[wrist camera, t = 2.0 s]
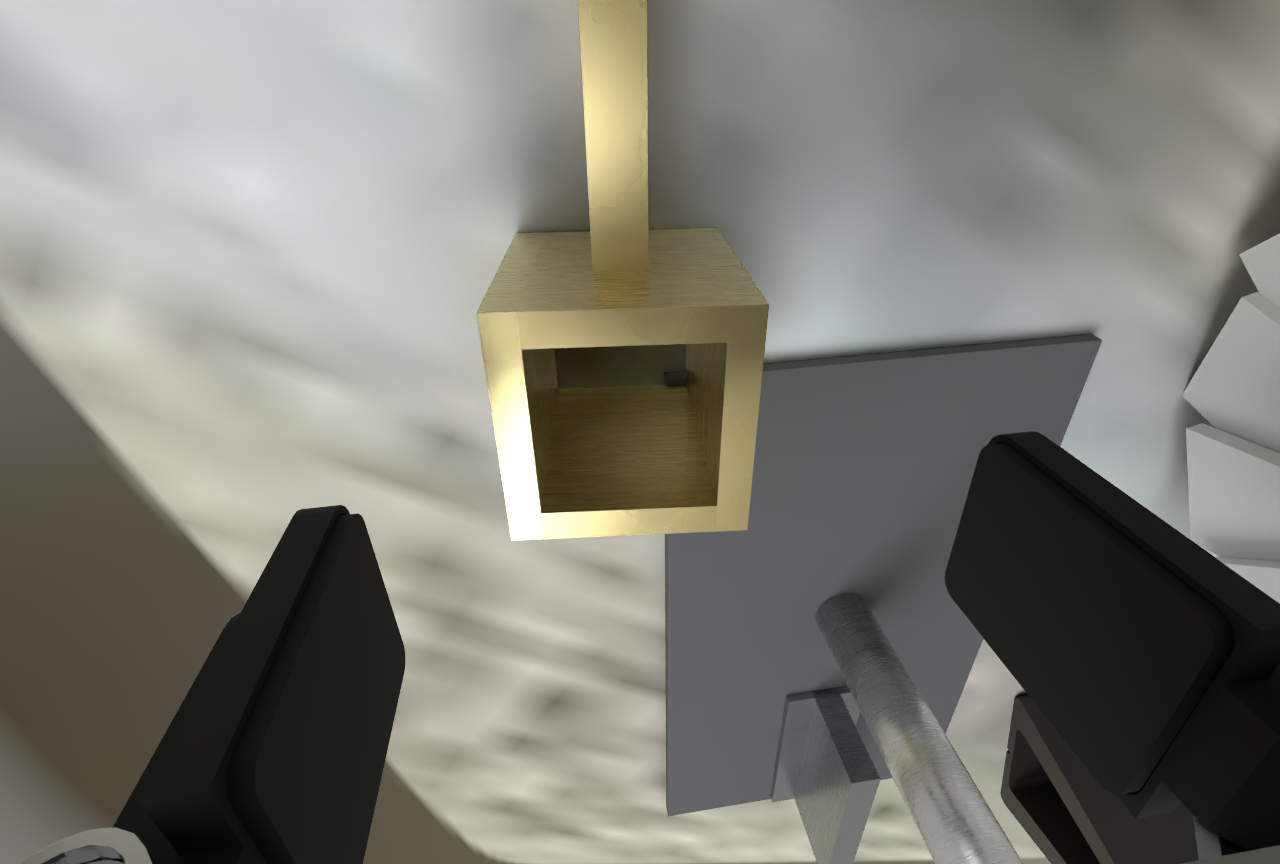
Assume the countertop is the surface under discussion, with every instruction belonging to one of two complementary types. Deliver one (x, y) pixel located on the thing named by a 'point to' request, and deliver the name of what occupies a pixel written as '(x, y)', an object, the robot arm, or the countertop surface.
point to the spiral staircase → (1241, 432)
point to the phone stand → (1081, 804)
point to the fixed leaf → (906, 737)
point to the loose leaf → (622, 338)
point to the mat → (841, 543)
